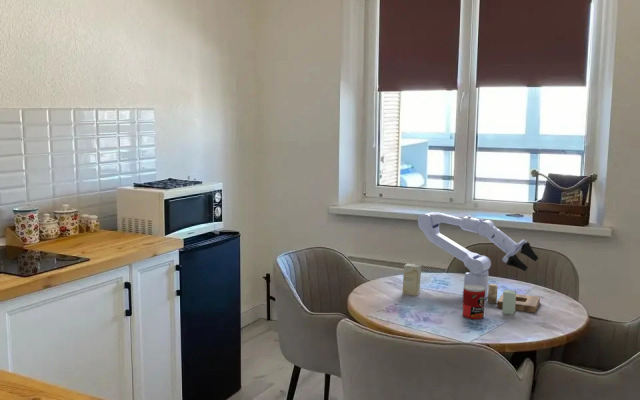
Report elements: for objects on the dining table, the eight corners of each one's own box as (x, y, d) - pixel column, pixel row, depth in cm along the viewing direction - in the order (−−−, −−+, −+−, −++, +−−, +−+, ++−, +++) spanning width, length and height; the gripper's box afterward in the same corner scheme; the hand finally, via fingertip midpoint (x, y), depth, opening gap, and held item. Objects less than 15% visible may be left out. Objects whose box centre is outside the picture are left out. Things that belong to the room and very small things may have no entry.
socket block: (497, 307, 236) (497, 301, 235) (503, 297, 248) (503, 292, 248) (535, 312, 229) (535, 306, 229) (539, 302, 242) (540, 297, 242)
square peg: (502, 313, 229) (503, 292, 228) (504, 310, 232) (505, 289, 231) (513, 314, 227) (514, 293, 226) (515, 311, 231) (516, 291, 230)
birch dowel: (486, 302, 241) (487, 285, 240) (488, 300, 244) (489, 283, 244) (495, 304, 240) (496, 286, 239) (497, 301, 243) (498, 284, 242)
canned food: (472, 320, 219) (473, 291, 218) (457, 314, 227) (458, 285, 225) (488, 317, 223) (490, 288, 222) (473, 311, 230) (474, 283, 229)
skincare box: (402, 293, 252) (403, 265, 250) (406, 291, 256) (407, 263, 254) (416, 296, 249) (417, 267, 247) (420, 293, 253) (421, 265, 251)
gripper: (497, 245, 237) (525, 268, 232) (517, 227, 245) (545, 249, 239) (490, 255, 242) (518, 278, 237) (511, 238, 250) (538, 259, 244)
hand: (531, 264), depth 238 cm, fingers open, 7 cm apart
